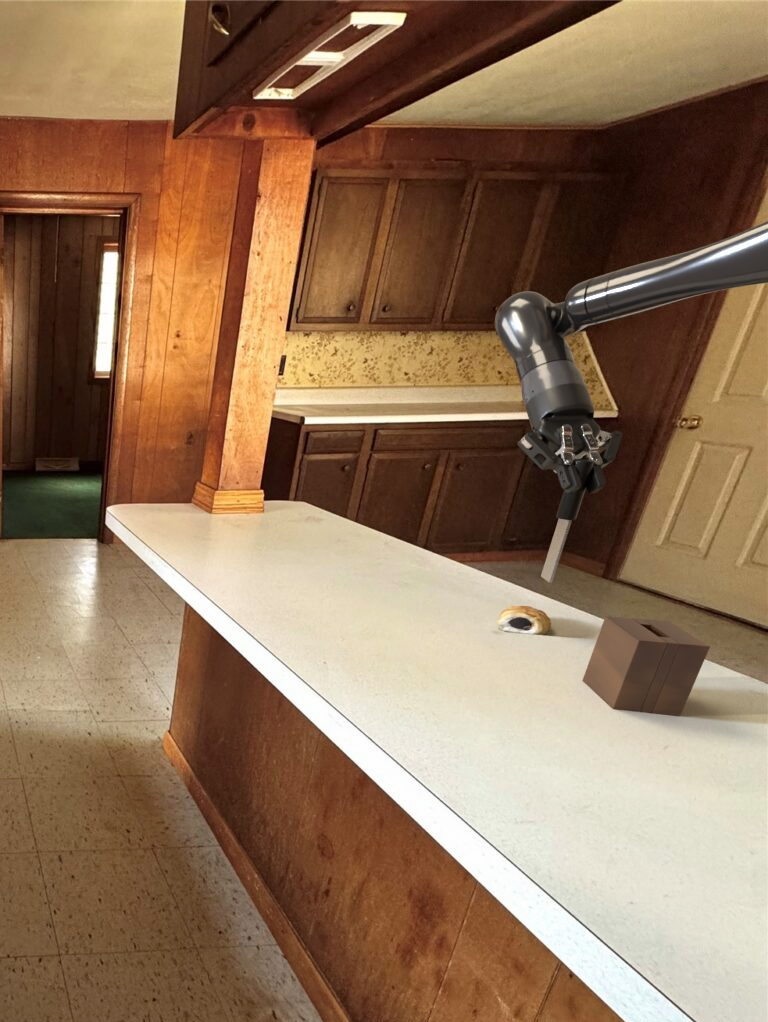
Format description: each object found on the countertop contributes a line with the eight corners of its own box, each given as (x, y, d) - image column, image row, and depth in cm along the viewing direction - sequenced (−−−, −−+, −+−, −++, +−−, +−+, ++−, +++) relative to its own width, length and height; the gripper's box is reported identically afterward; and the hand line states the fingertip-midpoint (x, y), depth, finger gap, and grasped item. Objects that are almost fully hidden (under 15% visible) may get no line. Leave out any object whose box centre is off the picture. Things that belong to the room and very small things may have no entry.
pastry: (506, 613, 118) (512, 593, 117) (554, 624, 113) (561, 604, 112) (493, 629, 112) (499, 608, 111) (543, 641, 108) (551, 620, 106)
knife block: (641, 692, 92) (669, 620, 88) (677, 722, 85) (710, 646, 81) (579, 686, 94) (605, 616, 90) (610, 715, 87) (639, 640, 83)
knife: (550, 576, 107) (588, 458, 100) (559, 583, 105) (599, 462, 97) (533, 575, 108) (569, 458, 101) (541, 582, 105) (579, 461, 98)
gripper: (521, 382, 103) (550, 476, 96) (622, 380, 101) (659, 476, 94) (492, 413, 110) (518, 503, 103) (586, 412, 108) (618, 503, 101)
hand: (585, 489), depth 99 cm, fingers closed on knife, 2 cm apart
